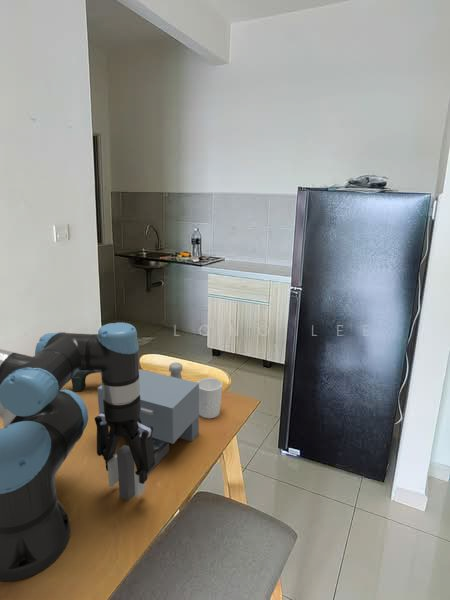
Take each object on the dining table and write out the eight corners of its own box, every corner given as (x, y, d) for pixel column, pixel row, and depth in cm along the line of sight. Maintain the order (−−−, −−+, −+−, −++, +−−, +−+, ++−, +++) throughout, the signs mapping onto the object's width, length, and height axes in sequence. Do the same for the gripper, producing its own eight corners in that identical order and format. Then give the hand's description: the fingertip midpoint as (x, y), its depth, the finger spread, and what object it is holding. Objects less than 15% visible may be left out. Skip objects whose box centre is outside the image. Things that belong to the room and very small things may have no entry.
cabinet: (171, 466, 94) (170, 410, 90) (99, 442, 103) (94, 389, 99) (198, 433, 108) (198, 383, 103) (132, 414, 116) (129, 366, 112)
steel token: (161, 453, 99) (161, 450, 99) (140, 448, 101) (140, 445, 101) (170, 440, 105) (170, 437, 105) (150, 436, 106) (150, 433, 106)
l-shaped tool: (128, 500, 84) (126, 454, 80) (119, 496, 85) (116, 451, 81) (171, 451, 100) (170, 411, 97) (163, 448, 101) (162, 409, 98)
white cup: (226, 412, 118) (227, 383, 116) (208, 422, 113) (209, 393, 110) (209, 403, 123) (209, 375, 121) (191, 412, 118) (191, 383, 115)
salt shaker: (188, 398, 126) (188, 363, 122) (177, 406, 121) (177, 369, 117) (175, 393, 129) (174, 358, 125) (163, 401, 124) (162, 365, 120)
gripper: (171, 398, 78) (173, 489, 84) (97, 379, 85) (104, 464, 92) (150, 417, 72) (154, 514, 78) (72, 394, 79) (81, 485, 85)
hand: (127, 487), depth 85 cm, fingers open, 6 cm apart
